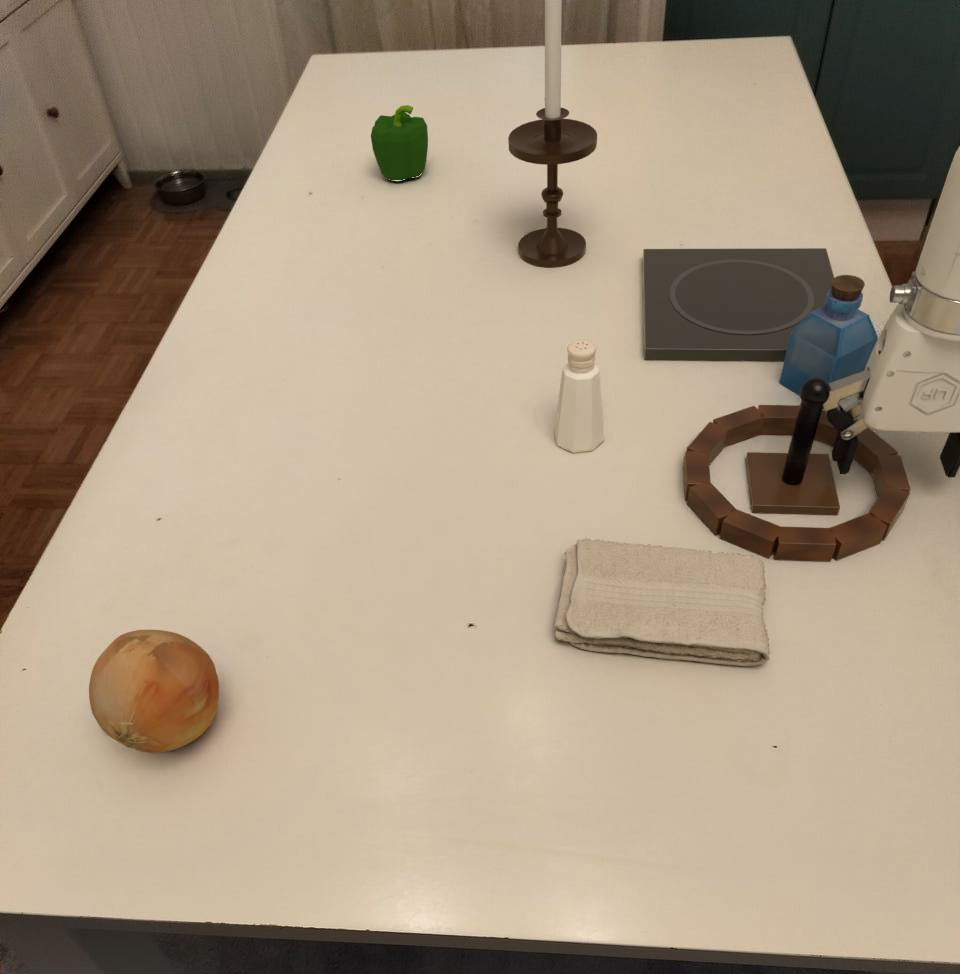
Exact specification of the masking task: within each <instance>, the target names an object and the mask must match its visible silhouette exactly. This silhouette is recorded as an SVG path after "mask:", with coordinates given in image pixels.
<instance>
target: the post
mask: <svg viewBox="0 0 960 974" xmlns="http://www.w3.org/2000/svg"><path fill="white" fill-rule="evenodd" d="M829 396H830V385H829V383H828V382H827V381H826V380H825V379H823V378H820V377H813V378H810V379H808V380H807V381H806V382H805V383H804V384H803V385H802V387H801V389H800V396H799V398H800V404H799V405H800V407H799V411H798V415H797V419H796V423H795V427H794V431H793V435H791V439H790V442H789V447H788V450H787V452H760V451H759V452H756V451H755V452H754V451H753V452H752V451H747V452H746V455H745V465H746V466H745V467H746V475H747V482H748V483H747V484H748V490H749V498H750V499H749V500H750V506H751V513H753V514H755V513H756V514H782V515H783V514H785V515H786V514H787V515H819V516H821V515H822V516H825V515H826V516H838V515H839V513H840V509H841V505H840V501H839V496H838V492H837V487H836V482H835V478H834V473H833V467H832V464H831V459H830V455H829V453H812V449H813V446H814V441H815V439H814V438H815V435H816V431H817V428H818V424H819V420H820V417H821V413H822V410H824V409H823V404H824V403H826V402H827V400H828V399H829Z"/></svg>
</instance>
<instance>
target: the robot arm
mask: <svg viewBox="0 0 960 974" xmlns="http://www.w3.org/2000/svg"><path fill="white" fill-rule="evenodd" d="M926 235H927V236H926V239H925V241H924V244H923V247H922V250H921V253H920V256H919V259H918V262H917V265H916V268H915V270H914V271H912V272H911V275H910V278H909V279H908V281H907V283H902V284H901V285H900V284H899V285H896V284H895V285H892V286H891V288H890V292H889V303H890V304H897V305H896V306H895V308H894V309H893V311H892V313H891V314H890V315H889V317H888V318H887V320H886V322H885V324H884V326H883V327H882V329H881V331H880V333H879V335H878V339H877V342H876V344H875V346H874V348H873V350H872V353H871V355H870V357H869V360H868V362H867V365H866V367H865V370H864V371H862V372H859V373H856V374H853V375H851V376H848V377H845V378H842V379H840V380H837V381H834V382H832V383H829V385H830V396H829V399H828V400H827V402H826V403H824V404H823V407H824V409H823V410H825V413H826V416H827V419H828V421H829V422H830V423H831V424H832V425H833V426H834V428H835V429H836V430H837V431H838V432H837V435H836V439H835V442H834V445H833V446H832V449H831V460H832V461H833V462H836V464H837V468H838V472H839V475H847V474H849V472H850V470H851V466H852V464H853V461H854V455H855V452H856V449H857V446H858V438H857V435H858V434H859V433H861V432H862V431H864V430H865V429H866V428H870V429H871V430H874V431H879V432H880V431H881V432H898V433H899V432H902V433H903V432H905V433H947V434H948V436H947V438H946V441H945V442H944V446H943V448H942V449H941V453H940V455H939V460H940V463H941V466H942V469H943V472H944V474H945V476H946V477H947V478H956V476H957V474H958V472H959V469H960V145H959V146H958V148H957V149H956V151H955V154H954V156H953V159H952V161H951V164H950V167H949V169H948V173H947V176H946V178H945V182H944V184H943V188H942V190H941V194H940V196H939V200H938V203H937V206H936V208H935V211H934V215H933V217H932V221H931V223H930V226H929V229H928V233H927V234H926ZM854 395H857V396H856V397H857V400H856V401H854V402H853V403H852V404H850V405H849V406H847V407H846V408H844V407H842V406H841V404H840V403H839V402H840V401H841V400H843V399H845V398H848V397H851V396H854Z"/></svg>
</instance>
